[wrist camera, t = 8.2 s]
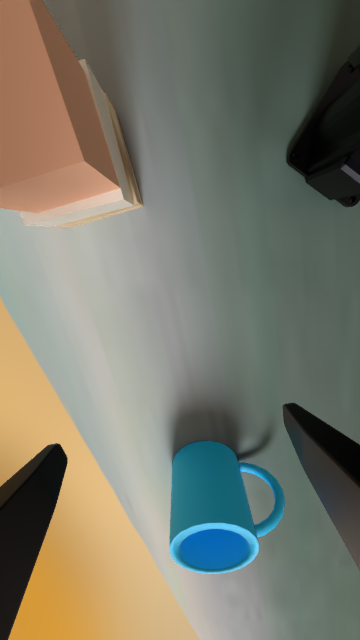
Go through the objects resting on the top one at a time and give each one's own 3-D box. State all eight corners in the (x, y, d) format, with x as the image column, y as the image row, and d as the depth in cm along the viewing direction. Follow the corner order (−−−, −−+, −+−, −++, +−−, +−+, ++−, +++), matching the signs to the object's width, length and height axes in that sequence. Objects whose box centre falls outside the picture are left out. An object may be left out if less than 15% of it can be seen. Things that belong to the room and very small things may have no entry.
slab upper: (11, 123, 14) (-32, 94, 11) (104, 95, 13) (84, 58, 11) (52, 226, 16) (25, 224, 13) (134, 205, 15) (123, 199, 13)
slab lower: (40, 141, 17) (12, 123, 14) (117, 115, 16) (104, 91, 13) (74, 227, 19) (56, 226, 16) (143, 206, 18) (137, 201, 15)
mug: (179, 490, 30) (178, 577, 22) (166, 445, 27) (160, 528, 20) (270, 478, 29) (302, 565, 22) (267, 431, 26) (302, 512, 19)
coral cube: (-10, 105, 11) (-146, 13, 7) (84, 71, 11) (10, -54, 6) (37, 213, 13) (-44, 201, 8) (120, 188, 12) (84, 161, 8)
